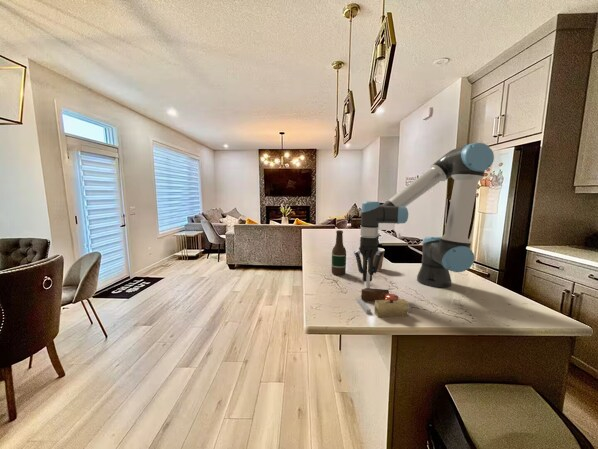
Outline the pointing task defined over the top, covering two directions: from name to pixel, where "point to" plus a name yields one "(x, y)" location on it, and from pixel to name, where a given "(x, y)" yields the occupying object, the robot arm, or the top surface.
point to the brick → (373, 294)
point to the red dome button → (391, 306)
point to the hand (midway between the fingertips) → (366, 288)
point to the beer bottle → (339, 255)
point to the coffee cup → (380, 259)
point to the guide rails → (369, 308)
